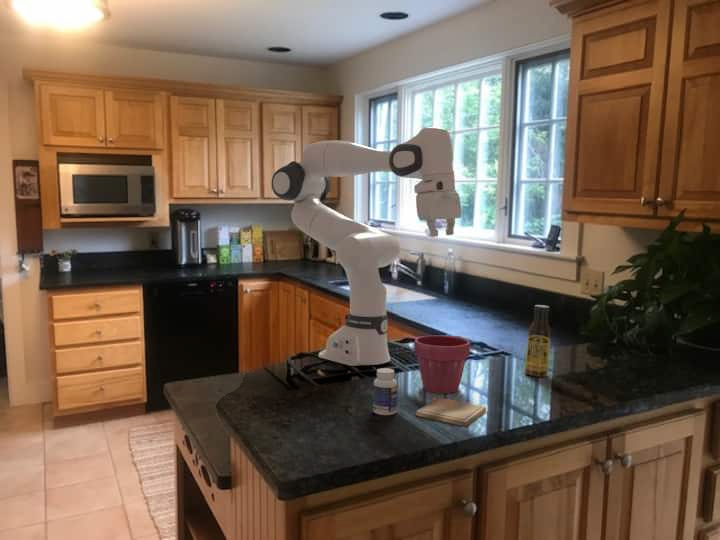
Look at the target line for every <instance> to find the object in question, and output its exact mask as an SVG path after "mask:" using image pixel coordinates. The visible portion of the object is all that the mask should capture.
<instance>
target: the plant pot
mask: <svg viewBox="0 0 720 540" xmlns="http://www.w3.org/2000/svg"><path fill="white" fill-rule="evenodd" d="M470 349H471V342H470V341H469V340H468V339H466V338H462V337H459V336H458V337H457V336H452V335H451V336H449V335H437V334H434V335H432V334H431V335H422V336H417V337H416V338H415V339H414V348H413V353H414V355H415V356H416V357H417V361H418V367H419V372H420V377H421V382H422V388H423V390H425V391H427V392H430V393H434V394H452V393H451V392H454V393H456V392H458V391H459V387H460V386H461V384H460V383H461V381H462V376H463V373H464V368H465V364H466V360H467V358H469V357H470V354H471V353H470V352H471V351H470ZM457 390H458V391H457Z"/></svg>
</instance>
